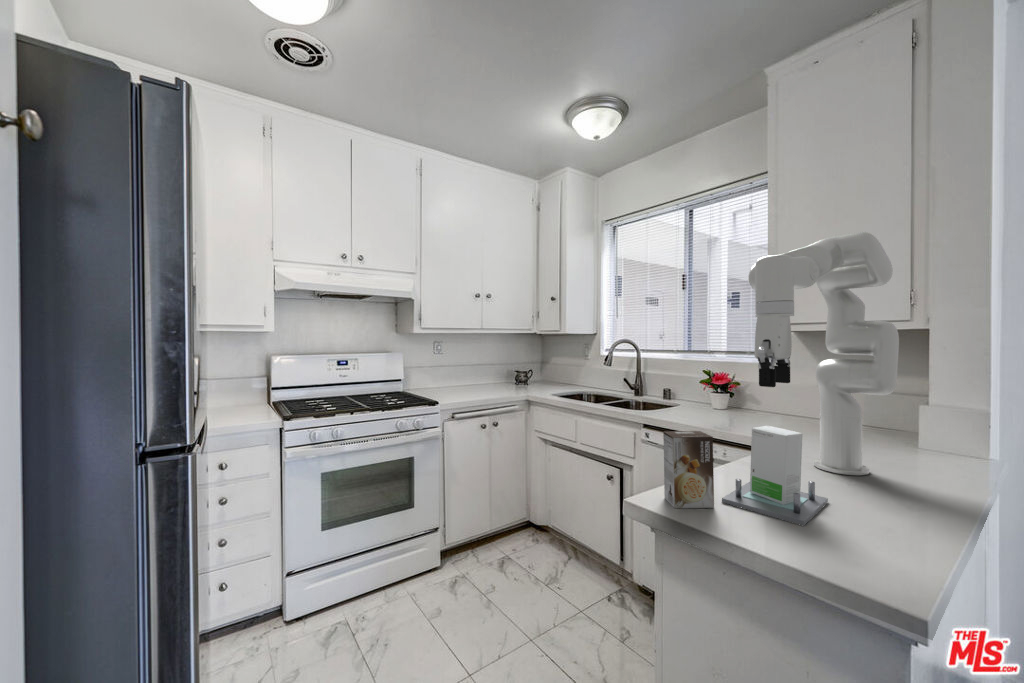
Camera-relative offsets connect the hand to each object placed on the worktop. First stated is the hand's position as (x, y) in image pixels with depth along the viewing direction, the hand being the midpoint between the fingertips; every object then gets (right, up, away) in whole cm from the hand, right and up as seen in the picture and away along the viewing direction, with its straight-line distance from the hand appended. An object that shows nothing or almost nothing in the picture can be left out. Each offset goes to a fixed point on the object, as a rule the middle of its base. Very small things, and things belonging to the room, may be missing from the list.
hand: (775, 384), depth 95 cm
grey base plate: (0, -27, 0) cm, 27 cm away
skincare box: (0, -26, 0) cm, 26 cm away
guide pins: (0, -27, 0) cm, 27 cm away
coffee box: (-20, -28, 0) cm, 34 cm away
